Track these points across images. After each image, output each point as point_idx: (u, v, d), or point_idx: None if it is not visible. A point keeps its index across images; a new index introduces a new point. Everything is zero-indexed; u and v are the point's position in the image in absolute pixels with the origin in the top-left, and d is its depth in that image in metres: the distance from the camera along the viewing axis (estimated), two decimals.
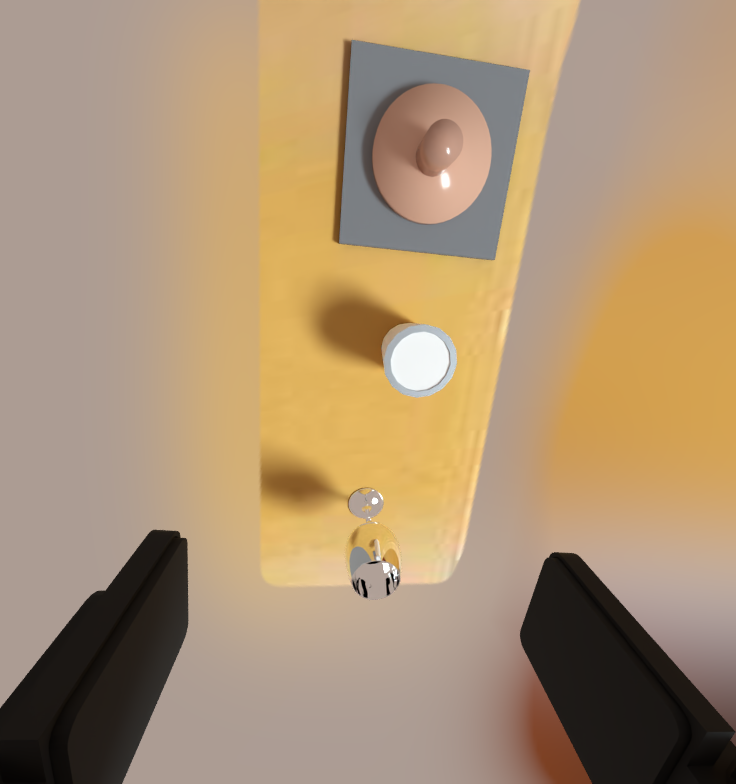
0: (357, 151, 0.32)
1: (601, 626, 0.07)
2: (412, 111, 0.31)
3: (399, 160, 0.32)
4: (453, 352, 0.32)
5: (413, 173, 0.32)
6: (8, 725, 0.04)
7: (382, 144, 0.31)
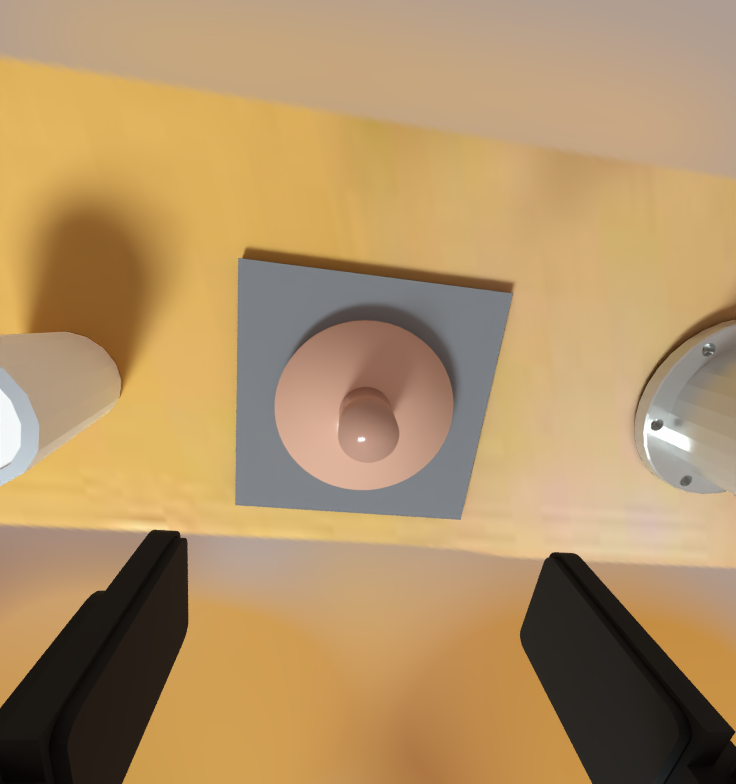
0: (376, 296, 0.20)
1: (601, 626, 0.07)
2: (422, 379, 0.21)
3: (360, 362, 0.21)
4: None
5: (343, 384, 0.21)
6: (8, 725, 0.04)
7: (381, 335, 0.20)
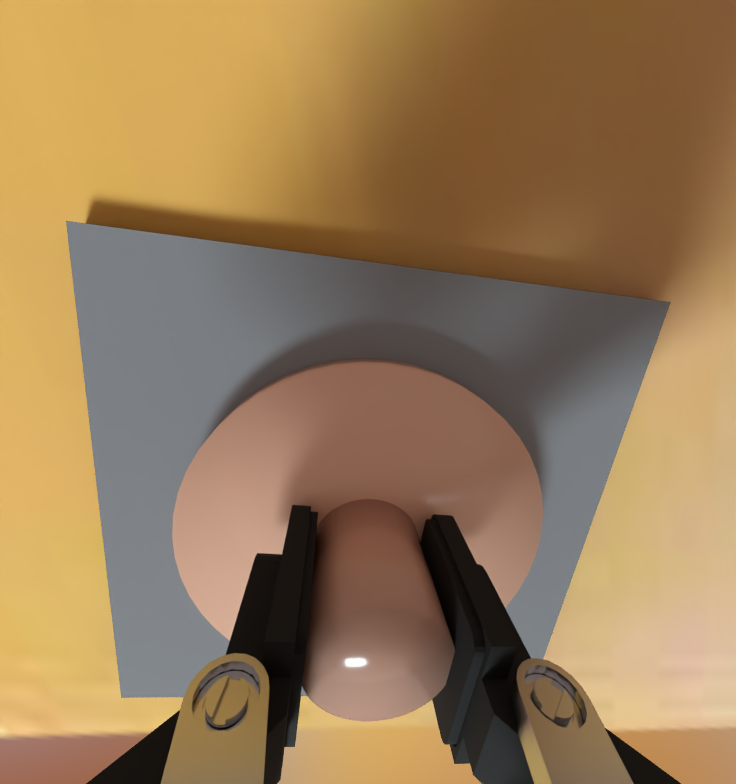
0: (389, 310, 0.09)
1: (447, 571, 0.08)
2: (482, 481, 0.10)
3: (355, 452, 0.10)
4: None
5: (317, 496, 0.10)
6: (269, 633, 0.06)
7: (399, 396, 0.09)
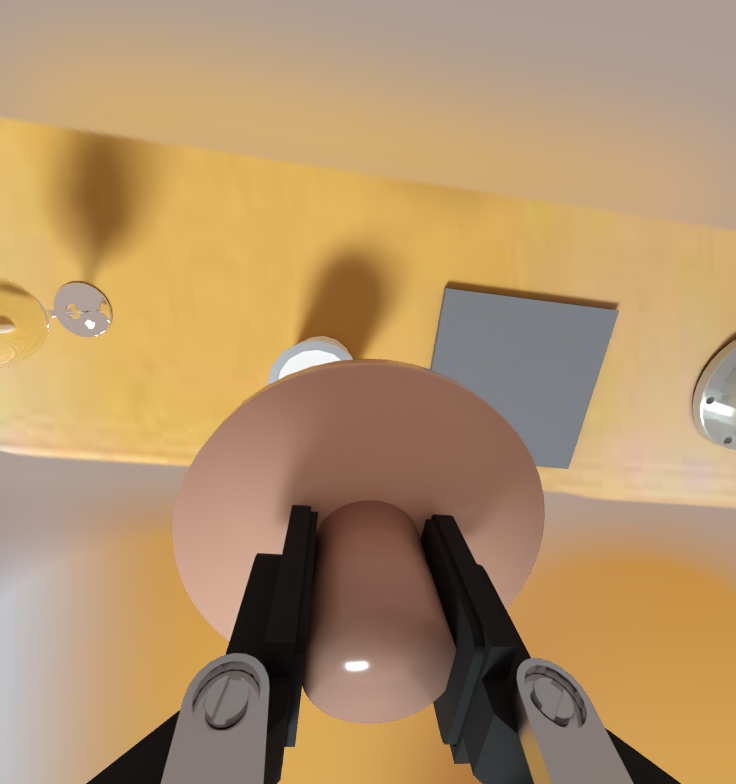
0: (530, 313, 0.31)
1: (447, 571, 0.08)
2: (484, 482, 0.10)
3: (355, 453, 0.09)
4: None
5: (318, 497, 0.10)
6: (269, 633, 0.06)
7: (400, 397, 0.09)
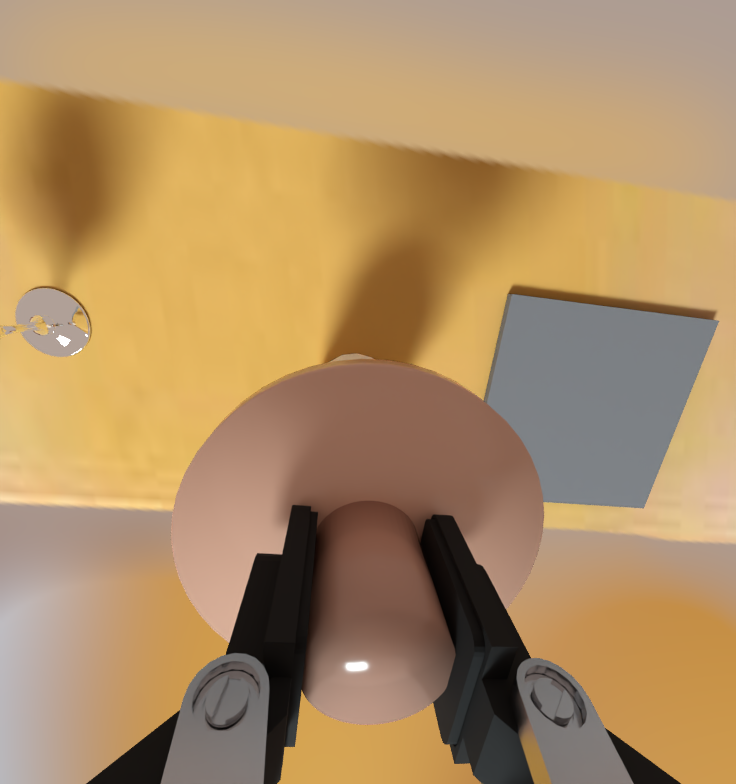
0: (612, 324, 0.25)
1: (447, 571, 0.08)
2: (483, 482, 0.10)
3: (355, 454, 0.09)
4: None
5: (317, 497, 0.10)
6: (269, 633, 0.06)
7: (399, 397, 0.09)
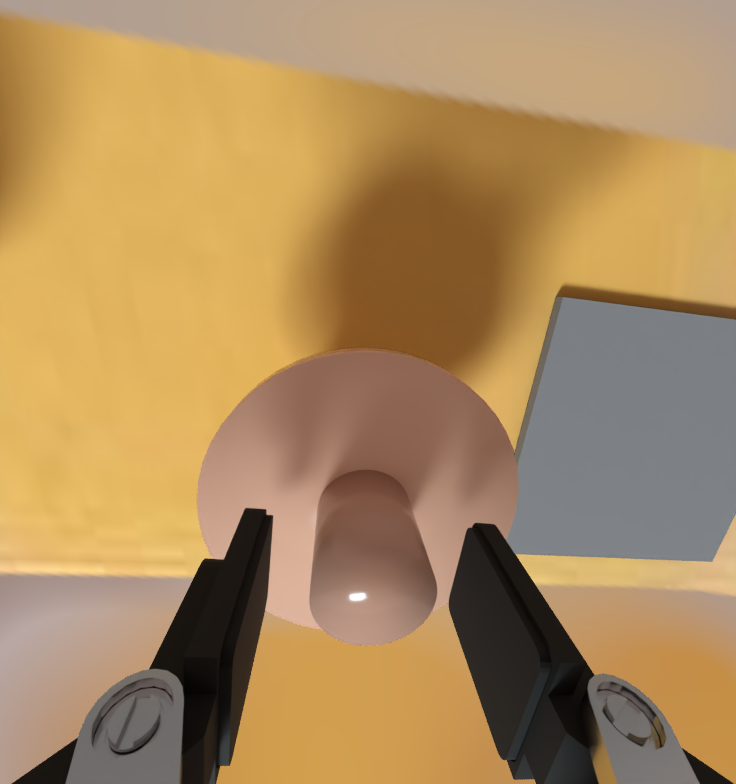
0: (691, 336, 0.19)
1: (499, 583, 0.08)
2: (465, 455, 0.12)
3: (355, 428, 0.11)
4: None
5: (322, 466, 0.11)
6: (191, 647, 0.05)
7: (393, 379, 0.11)
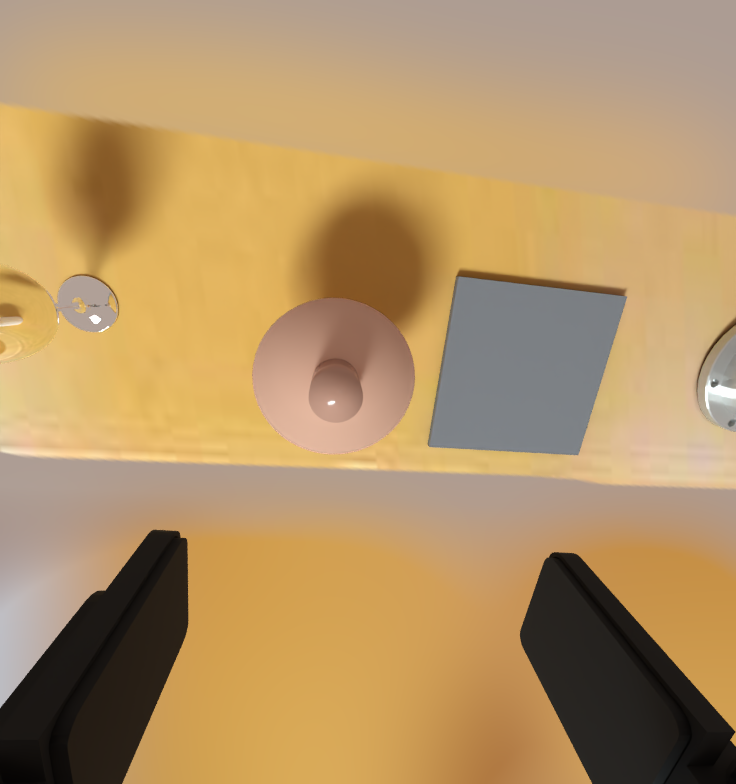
0: (541, 300, 0.31)
1: (601, 626, 0.07)
2: (385, 350, 0.23)
3: (329, 336, 0.23)
4: None
5: (314, 356, 0.23)
6: (8, 725, 0.04)
7: (346, 311, 0.22)
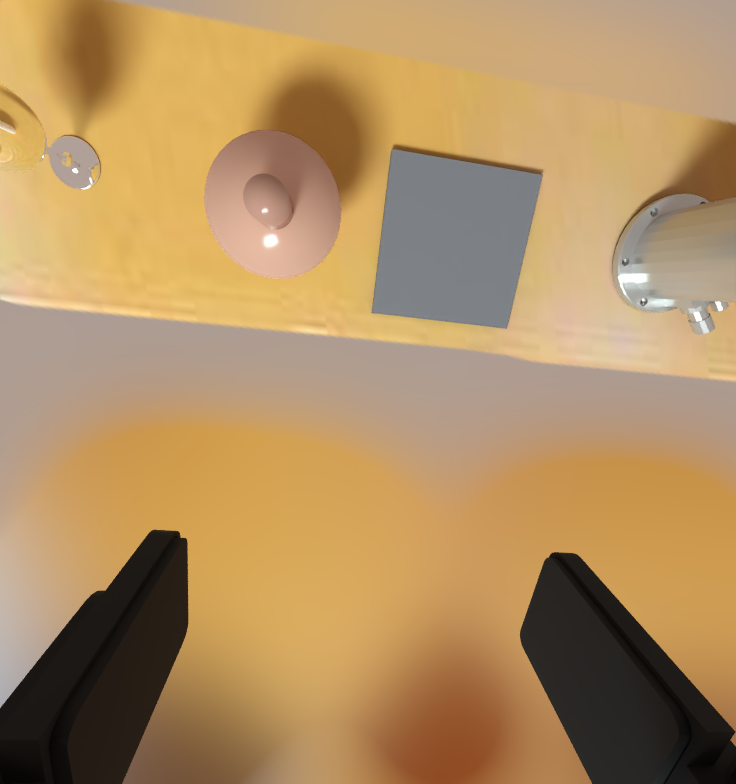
0: (466, 174, 0.36)
1: (601, 626, 0.07)
2: (315, 182, 0.28)
3: (267, 165, 0.28)
4: None
5: None
6: (8, 725, 0.04)
7: (281, 142, 0.27)
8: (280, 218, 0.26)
